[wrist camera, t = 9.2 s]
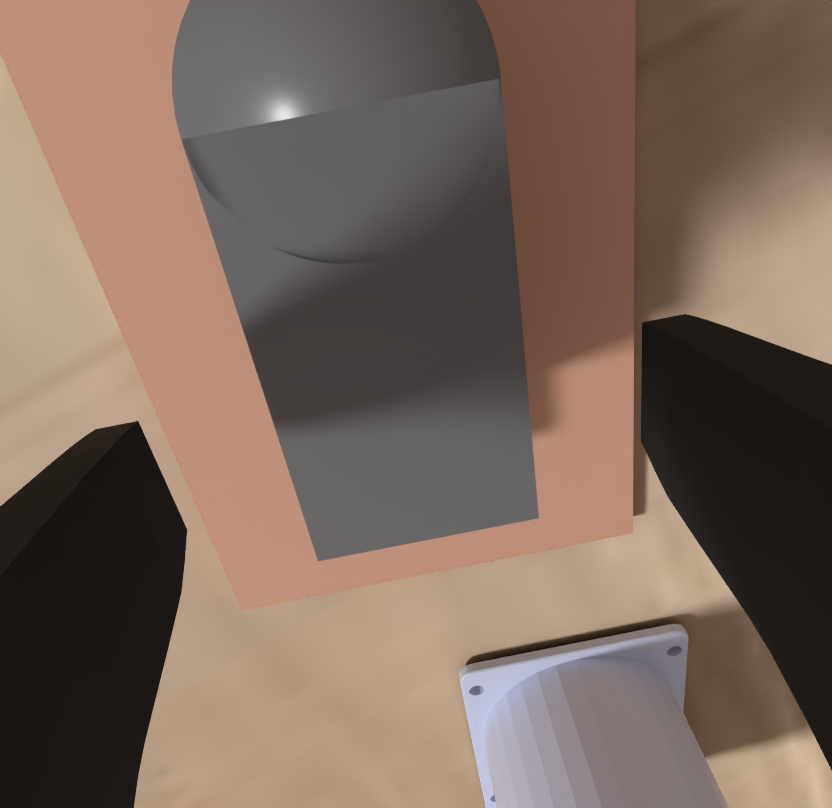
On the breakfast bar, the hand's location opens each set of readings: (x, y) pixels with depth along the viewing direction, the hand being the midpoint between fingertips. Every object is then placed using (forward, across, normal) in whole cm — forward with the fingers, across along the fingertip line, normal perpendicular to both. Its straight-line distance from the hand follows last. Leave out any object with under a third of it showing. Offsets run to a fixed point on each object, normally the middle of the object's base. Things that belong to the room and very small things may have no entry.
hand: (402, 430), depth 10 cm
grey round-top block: (+7, 0, 0) cm, 7 cm away
